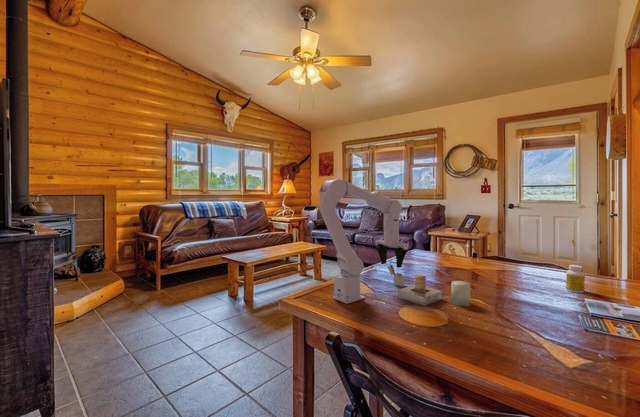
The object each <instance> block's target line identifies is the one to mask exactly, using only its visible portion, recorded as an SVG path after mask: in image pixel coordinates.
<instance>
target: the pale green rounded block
mask: <svg viewBox="0 0 640 417" xmlns="http://www.w3.org/2000/svg"><path fill="white" fill-rule="evenodd" d="M450 284H451V287H450V288H451V289H450V294H451V296H450V298H451V299H450V303H451V304H452V305H455V306H459V307H468V306H471V283H470V282H468V281H463V280H452V281H451V283H450Z"/></svg>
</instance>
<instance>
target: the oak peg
mask: <svg viewBox="0 0 640 417" xmlns="http://www.w3.org/2000/svg"><path fill="white" fill-rule="evenodd" d="M413 280H414V281H413V283H414V284H413V285H414V292H417V293H421V294H423V293H426V287H427V285H426V284H427V281H426V280H427V276H426V275H425V274H415V275H414V276H413Z"/></svg>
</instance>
